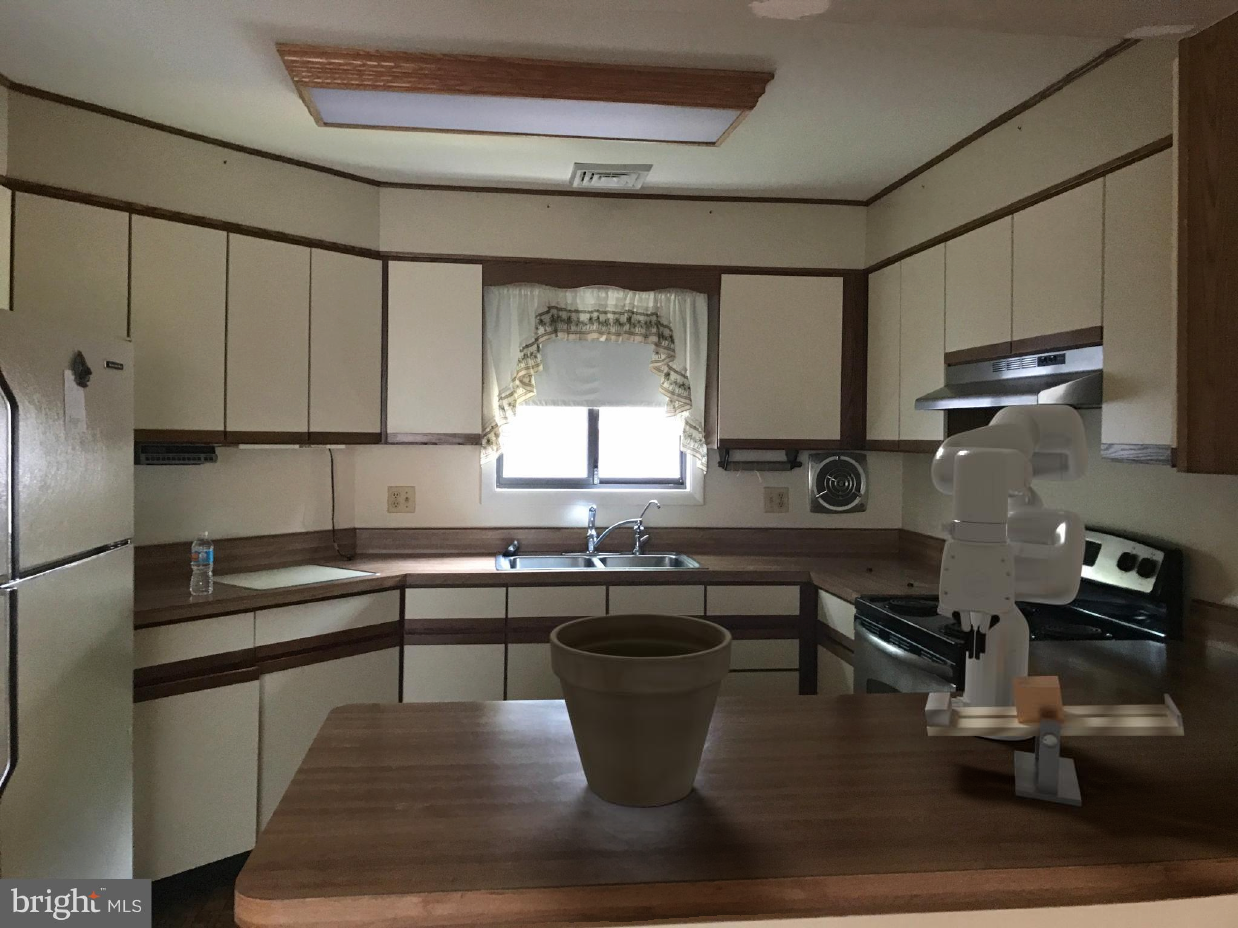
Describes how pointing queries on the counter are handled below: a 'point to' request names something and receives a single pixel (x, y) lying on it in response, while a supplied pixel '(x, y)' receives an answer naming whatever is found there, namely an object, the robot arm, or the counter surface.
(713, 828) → the counter surface
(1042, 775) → the pivot stand
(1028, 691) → the block
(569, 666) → the plant pot
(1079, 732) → the beam
